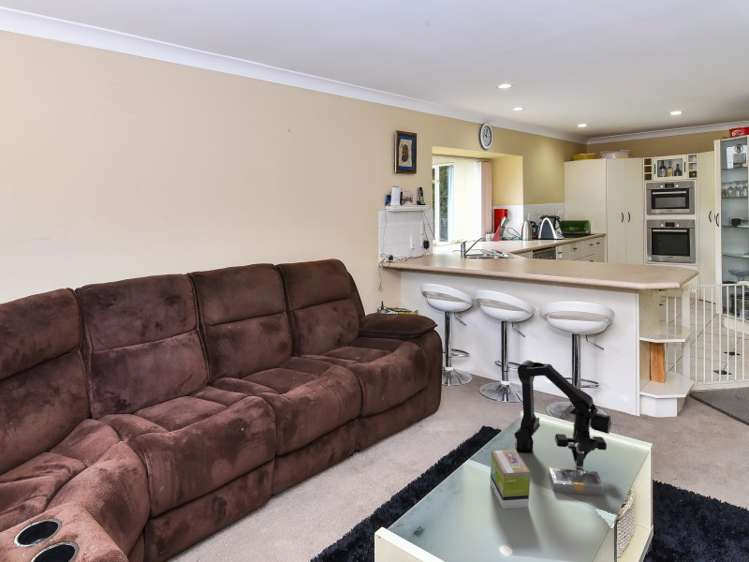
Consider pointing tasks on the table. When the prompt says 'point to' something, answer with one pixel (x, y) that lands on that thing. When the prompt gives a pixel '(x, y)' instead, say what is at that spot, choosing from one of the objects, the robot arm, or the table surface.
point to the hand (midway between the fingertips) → (578, 460)
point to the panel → (579, 458)
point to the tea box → (510, 479)
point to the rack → (576, 481)
